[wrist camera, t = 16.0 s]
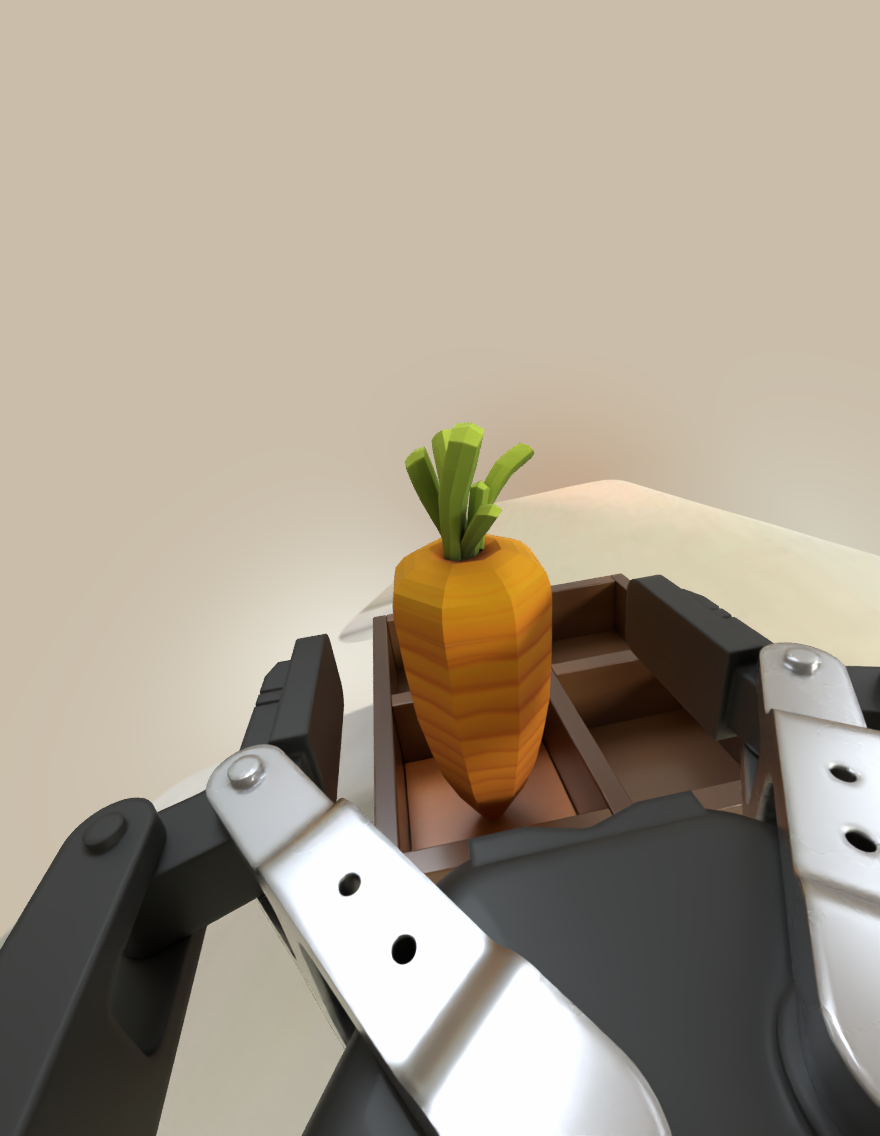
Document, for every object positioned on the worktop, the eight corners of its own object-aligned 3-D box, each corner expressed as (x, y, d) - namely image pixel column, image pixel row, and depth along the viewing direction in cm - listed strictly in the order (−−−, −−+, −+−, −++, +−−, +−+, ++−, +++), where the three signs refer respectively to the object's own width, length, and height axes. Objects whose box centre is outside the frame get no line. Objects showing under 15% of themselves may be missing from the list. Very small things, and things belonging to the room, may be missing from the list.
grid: (397, 966, 14) (374, 885, 13) (384, 673, 28) (372, 616, 27) (841, 861, 16) (873, 775, 14) (619, 629, 30) (621, 572, 28)
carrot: (451, 754, 21) (400, 414, 15) (563, 774, 19) (558, 399, 13) (411, 859, 17) (316, 444, 11) (550, 896, 15) (532, 427, 9)
